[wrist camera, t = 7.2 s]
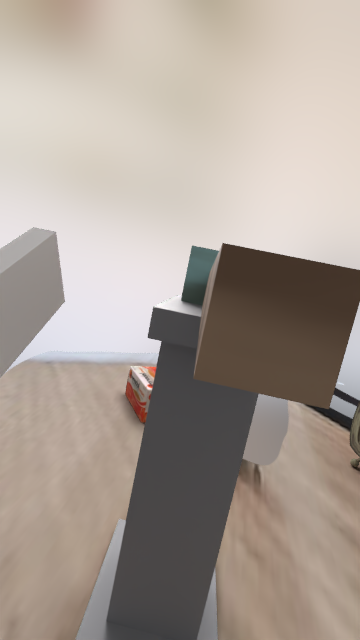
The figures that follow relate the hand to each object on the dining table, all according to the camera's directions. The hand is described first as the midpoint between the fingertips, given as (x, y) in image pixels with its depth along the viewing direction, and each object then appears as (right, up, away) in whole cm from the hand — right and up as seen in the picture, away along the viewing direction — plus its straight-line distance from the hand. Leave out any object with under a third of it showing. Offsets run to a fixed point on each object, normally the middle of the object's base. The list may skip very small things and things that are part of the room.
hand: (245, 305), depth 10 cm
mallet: (+1, 0, +10) cm, 10 cm away
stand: (-5, -29, +21) cm, 36 cm away
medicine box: (-10, -22, +63) cm, 68 cm away
